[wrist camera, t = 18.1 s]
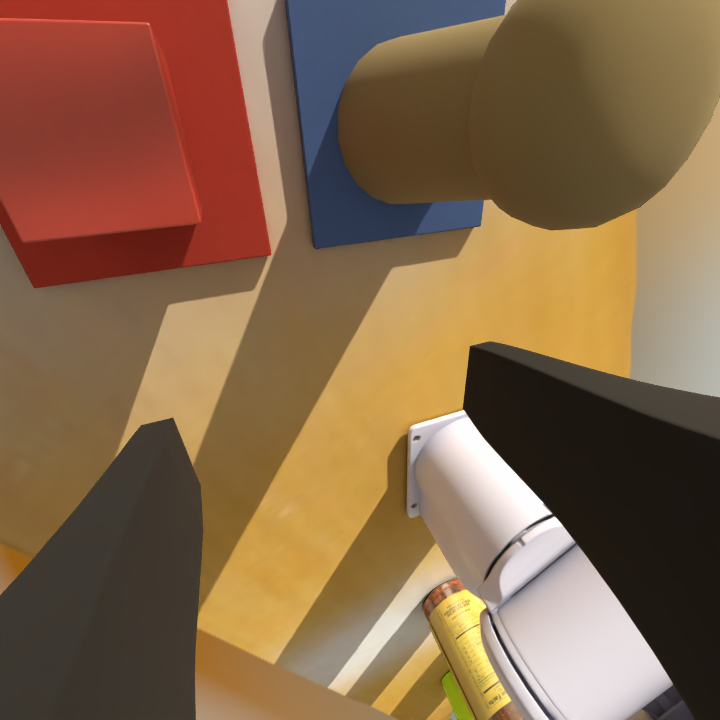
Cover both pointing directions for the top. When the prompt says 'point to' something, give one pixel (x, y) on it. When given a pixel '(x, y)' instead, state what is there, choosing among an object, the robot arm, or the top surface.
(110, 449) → the top surface
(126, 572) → the robot arm
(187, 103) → the red mat
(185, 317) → the top surface
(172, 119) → the red block
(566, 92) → the cork
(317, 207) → the blue mat
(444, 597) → the sauce bottle
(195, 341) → the top surface
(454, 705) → the soap dispenser
